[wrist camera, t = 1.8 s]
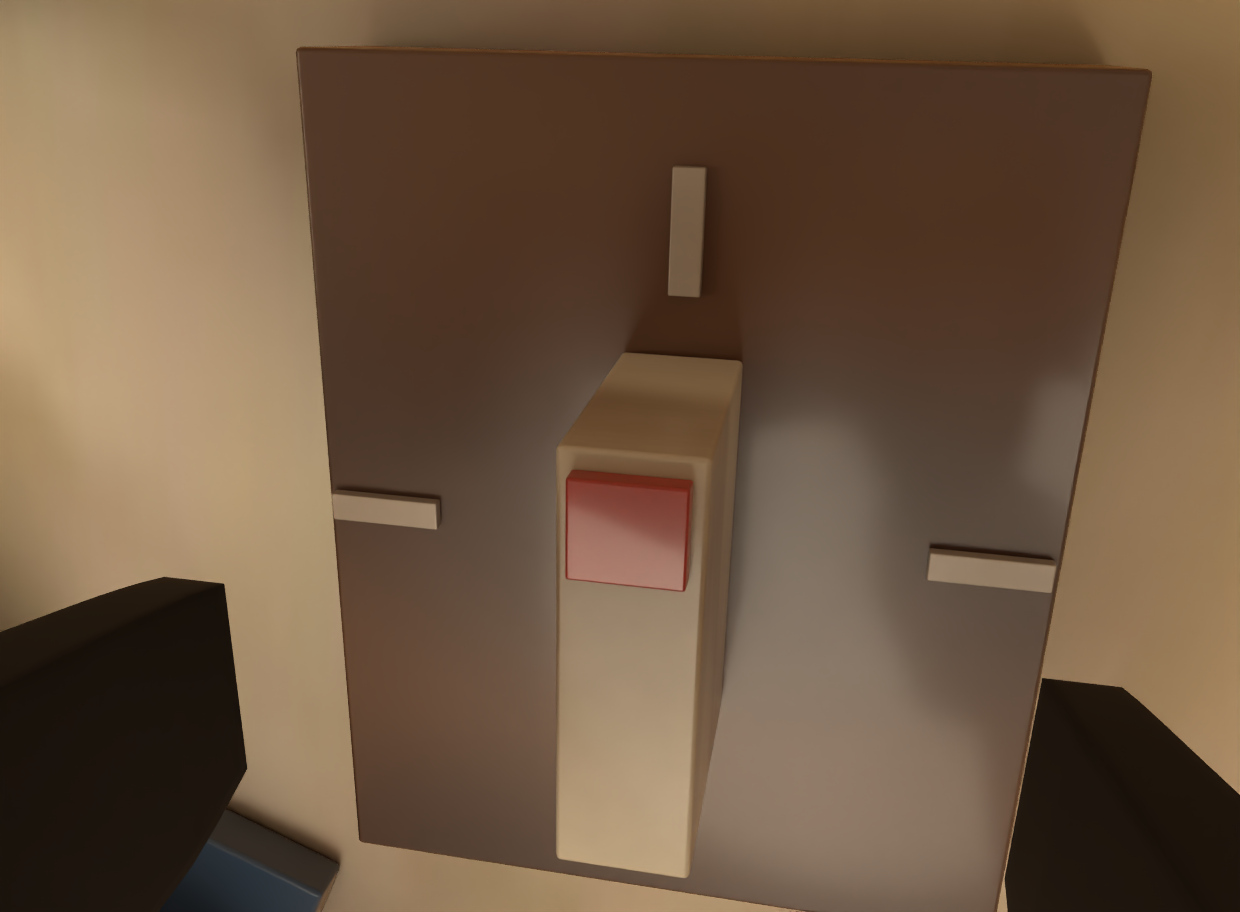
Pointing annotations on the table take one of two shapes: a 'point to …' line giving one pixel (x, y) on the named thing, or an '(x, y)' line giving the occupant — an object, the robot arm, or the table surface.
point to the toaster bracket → (253, 873)
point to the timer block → (767, 440)
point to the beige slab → (642, 608)
